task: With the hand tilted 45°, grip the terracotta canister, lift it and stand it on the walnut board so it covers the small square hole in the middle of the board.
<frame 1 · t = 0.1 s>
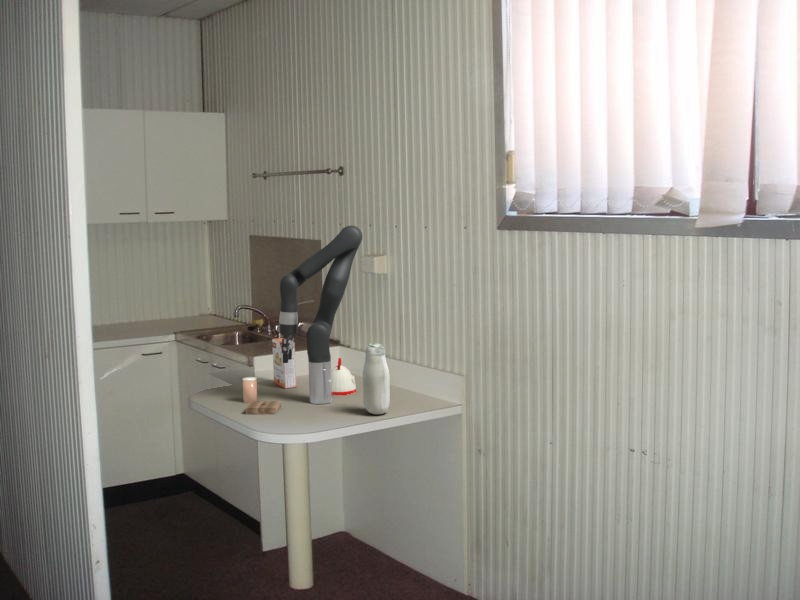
hand: (287, 361, 383), 17 cm above the counter, tool pointing down, fingers open, 8 cm apart
cracker box: (284, 386, 419), on the counter
kitchen timer: (340, 392, 403), on the counter
walnut board: (263, 410, 370), on the counter
terracotta canister: (250, 401, 388), on the counter
glass bottle: (376, 414, 361), on the counter
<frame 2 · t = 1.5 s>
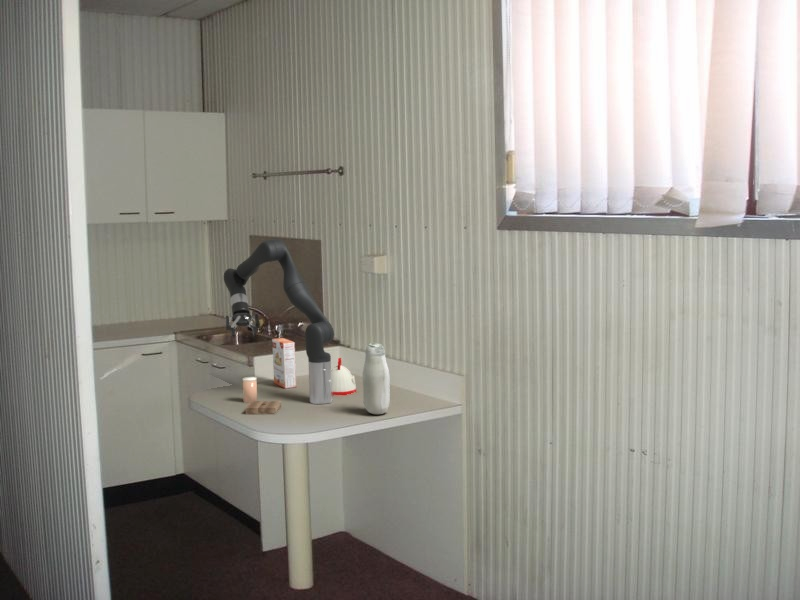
hand: (244, 335, 395), 26 cm above the counter, tool tilted 45°, fingers open, 8 cm apart
nothing on the counter moved.
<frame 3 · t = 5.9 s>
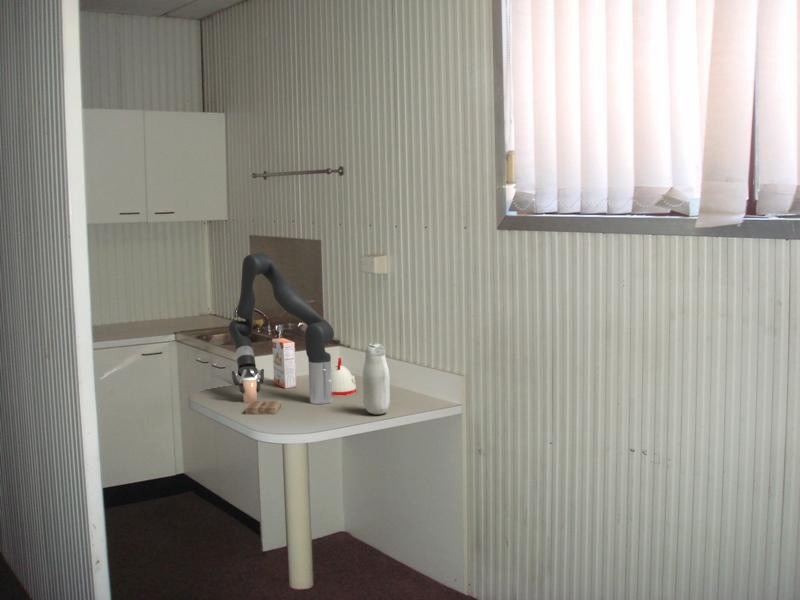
hand: (250, 391, 386), 4 cm above the counter, tool tilted 45°, fingers closed on terracotta canister, 5 cm apart
terracotta canister: (250, 401, 388), on the counter, touching gripper
everything else where it was.
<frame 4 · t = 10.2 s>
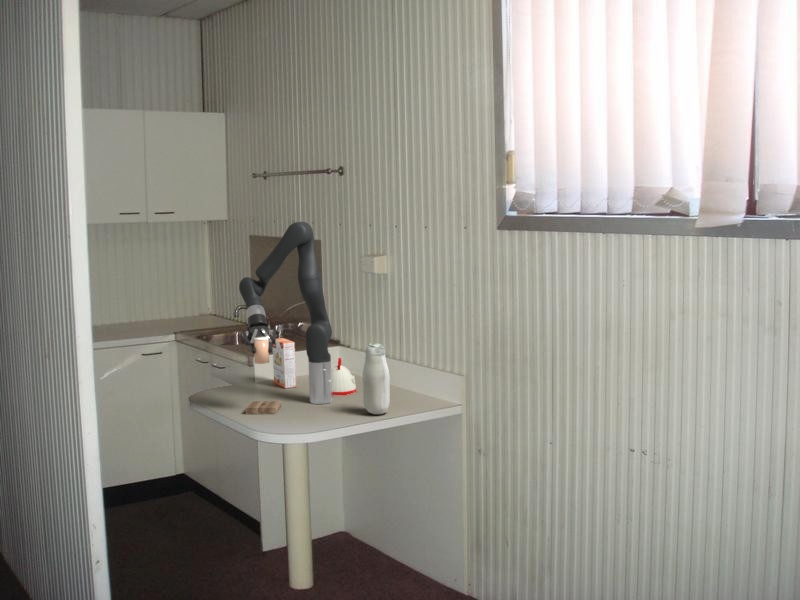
hand: (262, 351, 366), 24 cm above the counter, tool tilted 45°, fingers closed on terracotta canister, 5 cm apart
terracotta canister: (262, 362, 368), point 20 cm above the counter, touching gripper
everything else where it was.
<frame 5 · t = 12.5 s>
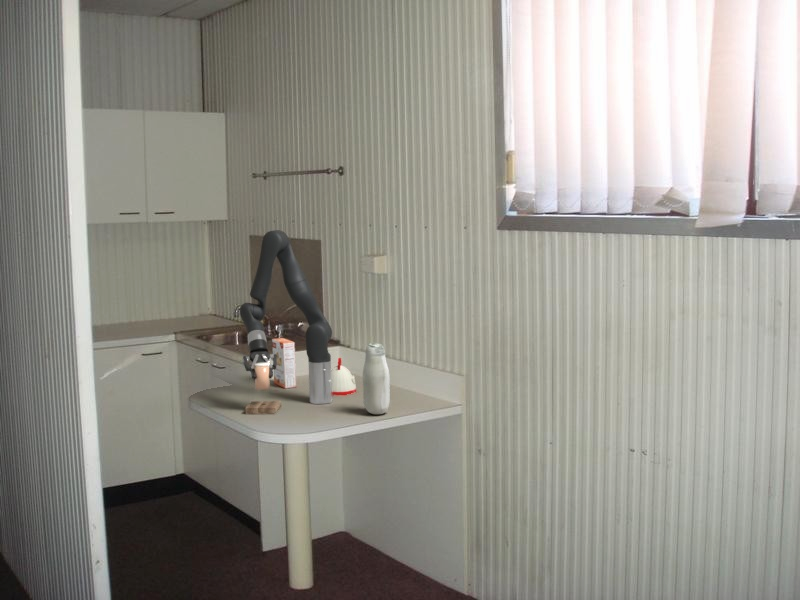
hand: (262, 377, 367), 14 cm above the counter, tool tilted 45°, fingers closed on terracotta canister, 5 cm apart
terracotta canister: (262, 387, 369), point 9 cm above the counter, touching gripper
everything else where it was.
when the fingers open (8 cm above the counter, at t = 14.4 s): terracotta canister drops 1 cm, resting on walnut board.
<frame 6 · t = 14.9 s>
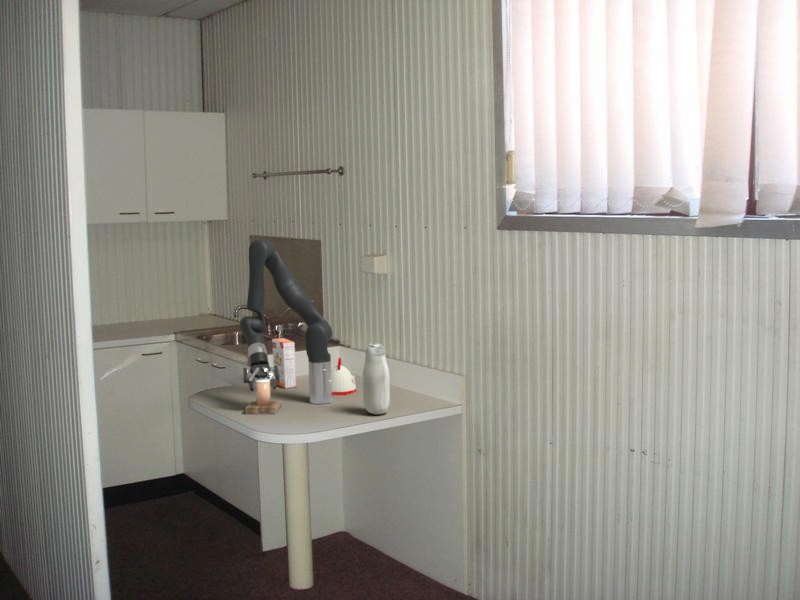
hand: (263, 389, 368), 9 cm above the counter, tool tilted 45°, fingers open, 8 cm apart
terracotta canister: (263, 404, 370), point 2 cm above the counter, touching walnut board
everything else where it was.
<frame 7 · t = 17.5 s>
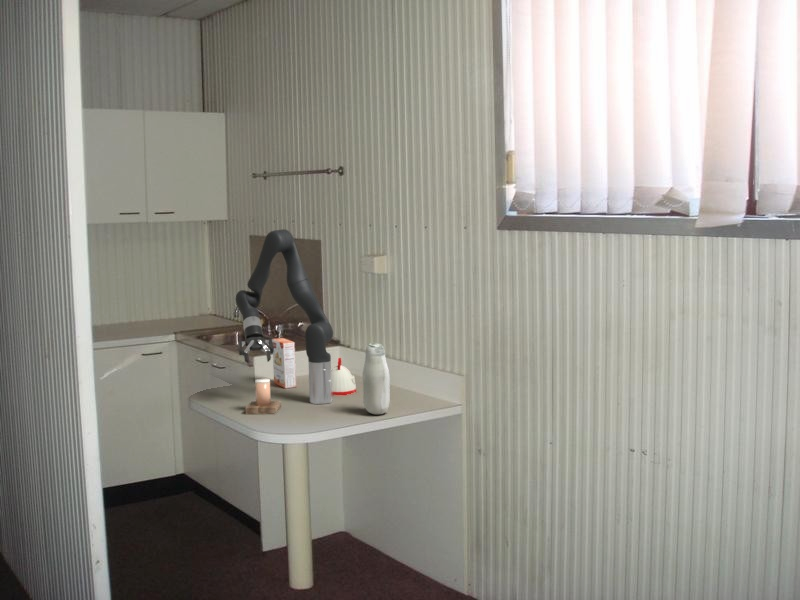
hand: (258, 361, 378), 18 cm above the counter, tool tilted 45°, fingers open, 8 cm apart
nothing on the counter moved.
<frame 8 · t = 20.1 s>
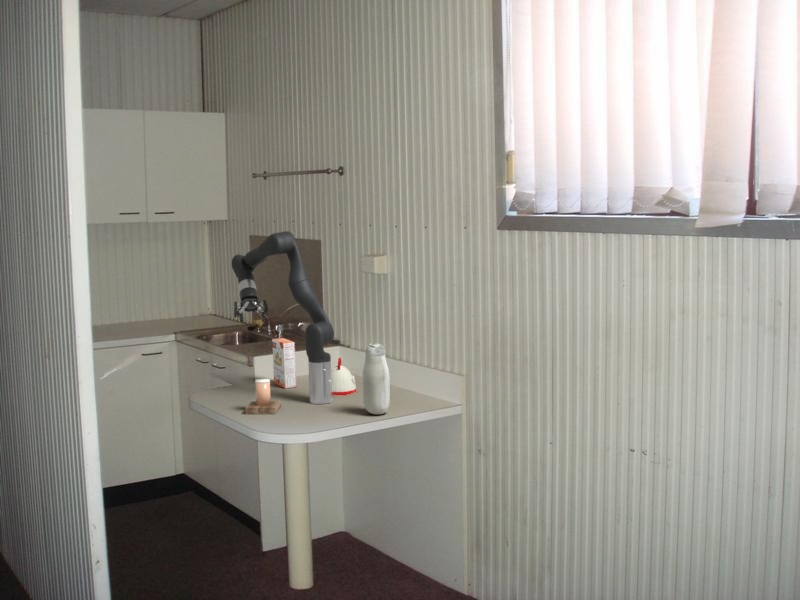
hand: (252, 321, 393), 33 cm above the counter, tool tilted 45°, fingers open, 8 cm apart
nothing on the counter moved.
at the end: terracotta canister 0.1 cm off-centre on the walnut board, point 2.5 cm above the walnut board's base; terracotta canister tilted 0°; the gripper is holding nothing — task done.
